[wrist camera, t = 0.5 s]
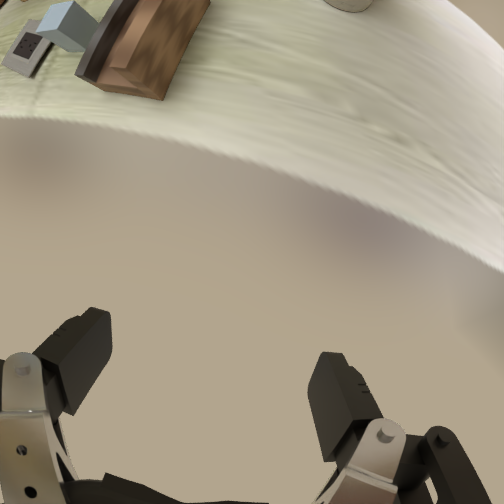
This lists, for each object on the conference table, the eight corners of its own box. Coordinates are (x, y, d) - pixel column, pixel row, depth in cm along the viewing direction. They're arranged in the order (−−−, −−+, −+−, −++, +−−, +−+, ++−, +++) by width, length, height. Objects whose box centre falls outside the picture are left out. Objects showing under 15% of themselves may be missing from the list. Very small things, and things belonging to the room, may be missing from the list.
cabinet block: (77, 28, 27) (47, 5, 18) (102, 26, 28) (74, 0, 18) (64, 52, 28) (31, 33, 19) (89, 51, 29) (56, 29, 19)
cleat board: (152, -3, 27) (126, -48, 14) (210, 2, 28) (199, -50, 15) (103, 90, 31) (54, 64, 19) (162, 100, 32) (125, 68, 20)
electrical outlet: (6, 66, 27) (-1, 63, 25) (34, 22, 25) (28, 18, 23) (35, 79, 30) (27, 76, 27) (67, 29, 27) (60, 25, 25)
